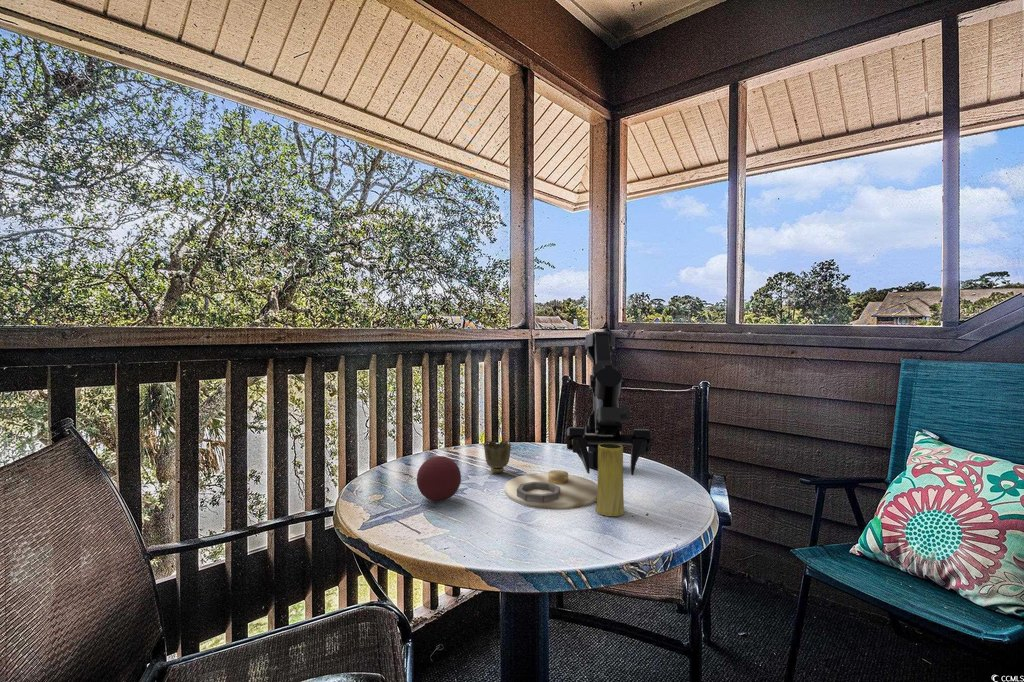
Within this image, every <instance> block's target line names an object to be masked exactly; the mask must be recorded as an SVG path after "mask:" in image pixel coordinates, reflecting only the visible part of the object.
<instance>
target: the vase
mask: <svg viewBox="0 0 1024 682" xmlns="http://www.w3.org/2000/svg"><path fill="white" fill-rule="evenodd" d="M597 485H598V487H597V500H596V506H595V512H596V513H597V514H599V515H600V514H601V516H603V515H605V516H604V517H608V516H618V517H621V516H623V515H624V514H625V505H624V504H625V503H624V500H625V499H624V446H623V444H616V443H601V444H599V445H598V470H597ZM620 515H621V516H620Z"/></svg>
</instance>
